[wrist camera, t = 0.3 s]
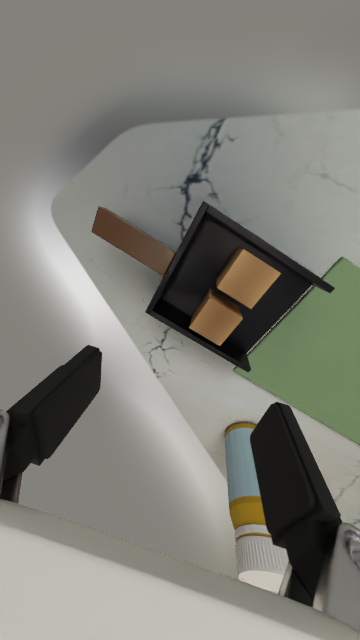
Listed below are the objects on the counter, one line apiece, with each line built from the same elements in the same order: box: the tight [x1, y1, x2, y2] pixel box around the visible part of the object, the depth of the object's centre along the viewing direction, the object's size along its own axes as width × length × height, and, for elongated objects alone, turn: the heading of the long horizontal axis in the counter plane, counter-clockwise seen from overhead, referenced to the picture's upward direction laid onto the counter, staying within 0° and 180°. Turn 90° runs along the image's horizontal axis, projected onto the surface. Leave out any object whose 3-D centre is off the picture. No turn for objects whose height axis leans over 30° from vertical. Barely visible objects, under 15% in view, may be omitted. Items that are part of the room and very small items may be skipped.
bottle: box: [225, 423, 289, 594], centre depth 24 cm, size 7×7×15 cm
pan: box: [92, 201, 335, 372], centre depth 19 cm, size 22×12×4 cm, turn 60°
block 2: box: [216, 247, 281, 309], centre depth 18 cm, size 4×4×4 cm
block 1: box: [189, 289, 243, 346], centre depth 20 cm, size 4×4×4 cm
